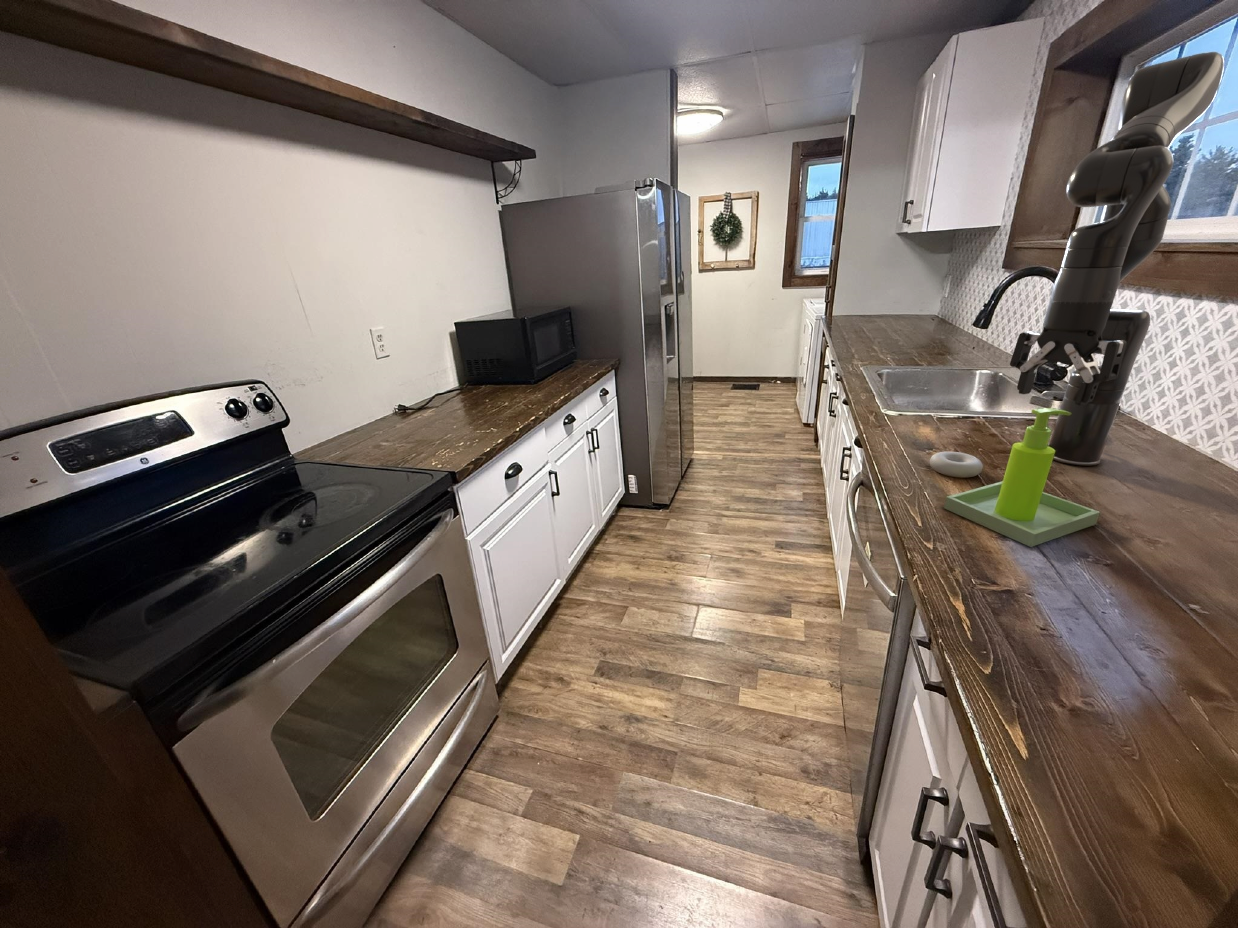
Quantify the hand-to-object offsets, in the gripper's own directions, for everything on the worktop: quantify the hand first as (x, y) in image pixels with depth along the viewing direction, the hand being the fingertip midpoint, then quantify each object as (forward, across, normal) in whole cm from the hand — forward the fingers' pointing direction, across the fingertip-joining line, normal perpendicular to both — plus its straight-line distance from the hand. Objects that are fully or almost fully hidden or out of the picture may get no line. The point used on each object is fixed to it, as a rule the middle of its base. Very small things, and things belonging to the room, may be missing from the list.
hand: (1051, 398), depth 84 cm
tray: (+22, 0, 0) cm, 22 cm away
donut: (+23, +19, -9) cm, 31 cm away
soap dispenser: (+22, 0, 0) cm, 22 cm away
